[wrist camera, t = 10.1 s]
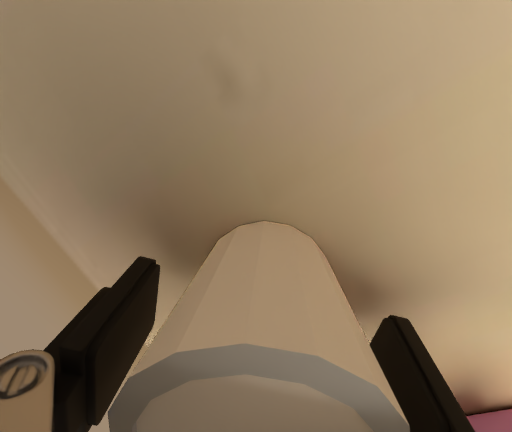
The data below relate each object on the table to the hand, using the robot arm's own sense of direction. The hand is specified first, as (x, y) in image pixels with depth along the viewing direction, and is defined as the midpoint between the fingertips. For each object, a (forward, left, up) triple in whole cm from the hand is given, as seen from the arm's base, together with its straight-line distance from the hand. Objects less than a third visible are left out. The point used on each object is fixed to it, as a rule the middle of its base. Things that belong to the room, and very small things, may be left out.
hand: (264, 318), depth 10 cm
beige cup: (0, 0, -3) cm, 3 cm away
